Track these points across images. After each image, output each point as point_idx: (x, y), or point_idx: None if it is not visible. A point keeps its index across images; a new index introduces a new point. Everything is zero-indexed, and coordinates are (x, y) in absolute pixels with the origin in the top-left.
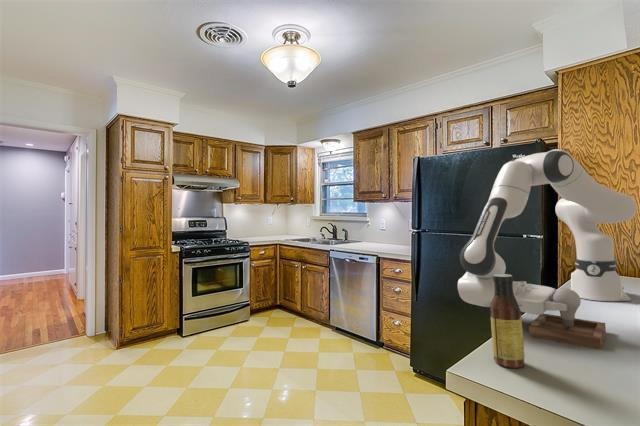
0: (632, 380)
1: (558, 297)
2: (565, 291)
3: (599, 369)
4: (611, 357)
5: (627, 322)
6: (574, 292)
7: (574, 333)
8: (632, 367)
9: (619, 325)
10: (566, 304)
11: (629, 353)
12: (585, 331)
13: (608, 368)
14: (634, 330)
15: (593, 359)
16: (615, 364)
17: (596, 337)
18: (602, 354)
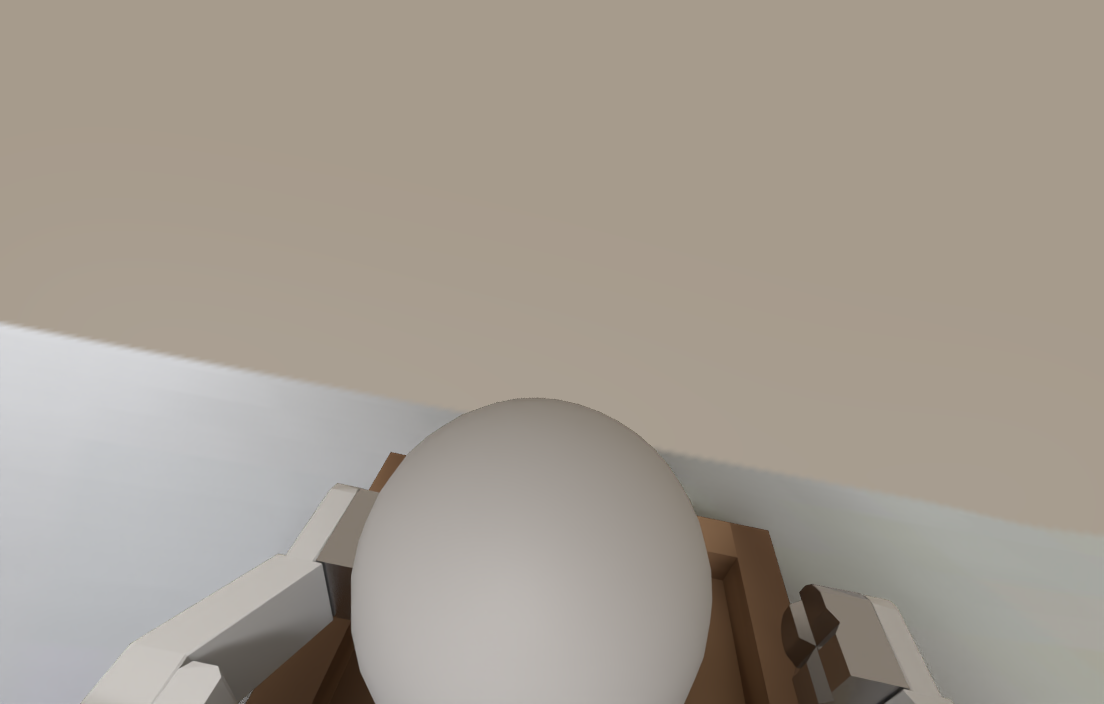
0: (1003, 520)
1: (699, 661)
2: (656, 490)
3: (1041, 613)
4: (821, 540)
5: (163, 375)
6: (589, 409)
7: (786, 670)
8: (864, 493)
9: (229, 414)
10: (847, 592)
11: (699, 469)
12: None
13: (980, 575)
14: (322, 385)
15: (938, 622)
16: (897, 541)
17: (756, 543)
18: (816, 570)
